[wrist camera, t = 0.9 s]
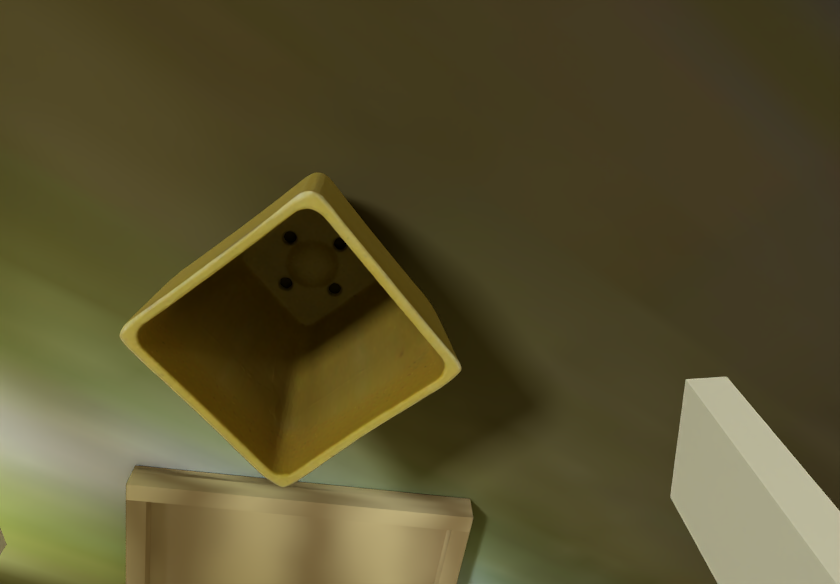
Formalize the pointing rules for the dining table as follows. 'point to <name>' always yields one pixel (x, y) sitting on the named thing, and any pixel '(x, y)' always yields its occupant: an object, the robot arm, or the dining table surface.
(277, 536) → the holder tray
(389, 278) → the flower pot
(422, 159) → the dining table surface
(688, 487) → the robot arm
